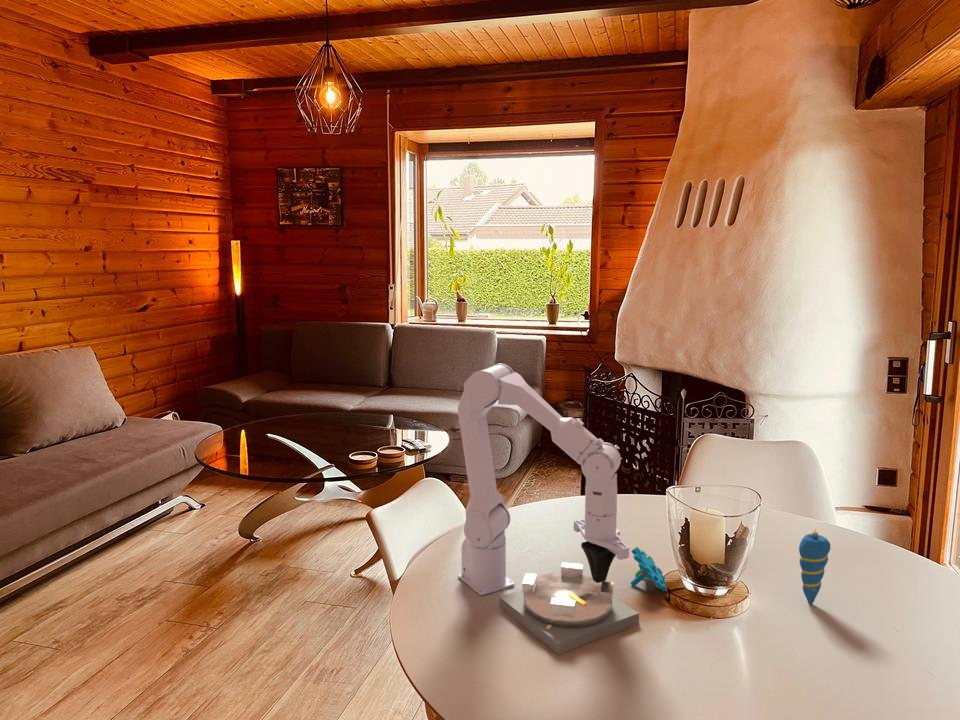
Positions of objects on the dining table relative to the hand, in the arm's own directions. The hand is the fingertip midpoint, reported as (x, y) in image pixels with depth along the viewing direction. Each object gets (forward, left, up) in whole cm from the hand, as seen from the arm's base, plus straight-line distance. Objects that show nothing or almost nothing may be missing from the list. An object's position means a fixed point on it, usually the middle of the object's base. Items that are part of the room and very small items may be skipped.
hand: (599, 580), depth 127 cm
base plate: (-1, -7, -5) cm, 9 cm away
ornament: (+20, +34, -5) cm, 40 cm away
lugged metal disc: (-1, -7, -3) cm, 7 cm away
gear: (-1, +14, -6) cm, 15 cm away
